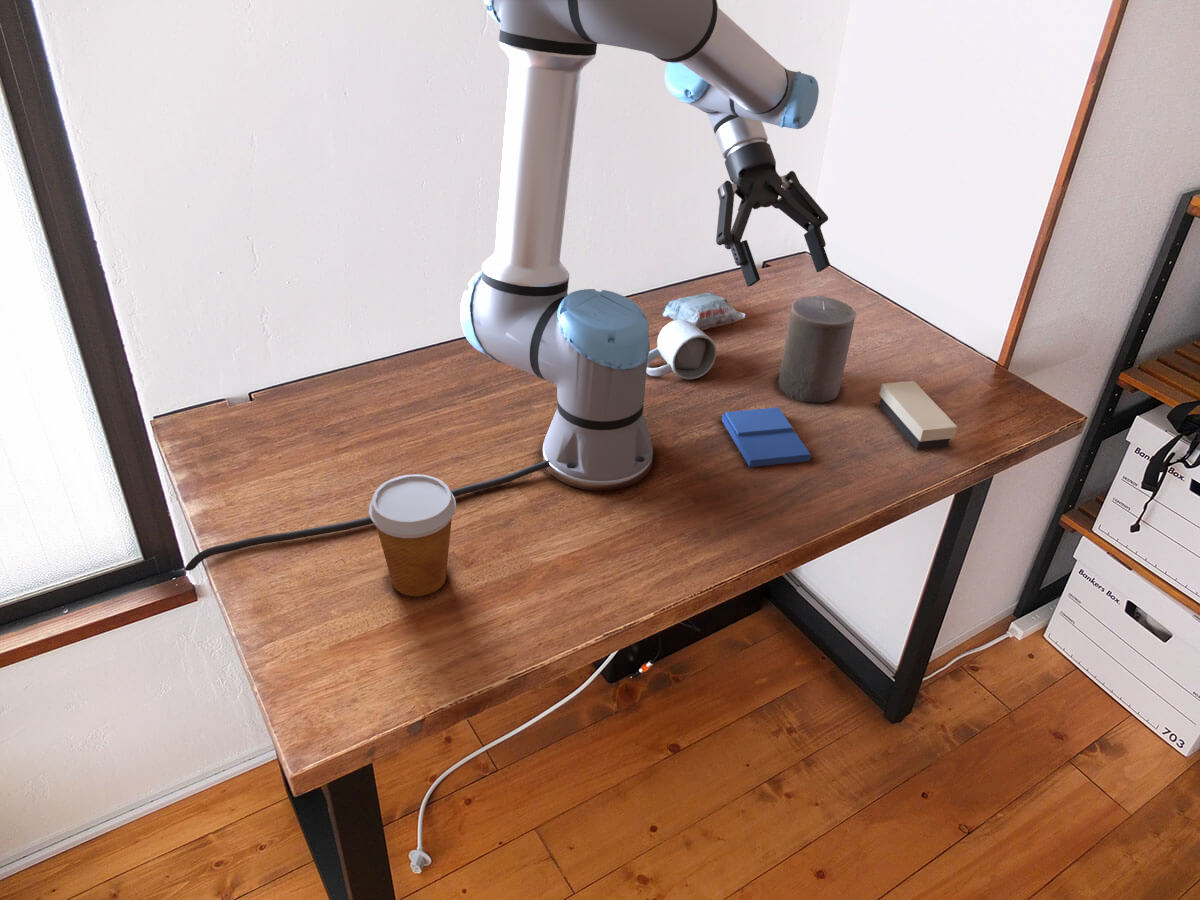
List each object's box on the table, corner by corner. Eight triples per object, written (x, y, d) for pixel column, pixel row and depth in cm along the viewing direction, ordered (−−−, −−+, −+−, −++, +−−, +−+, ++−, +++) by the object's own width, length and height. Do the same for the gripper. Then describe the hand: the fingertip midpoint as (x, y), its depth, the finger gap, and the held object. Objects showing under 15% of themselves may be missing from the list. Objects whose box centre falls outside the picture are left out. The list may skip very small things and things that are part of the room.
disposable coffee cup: (463, 551, 116) (459, 472, 109) (456, 607, 108) (451, 525, 101) (384, 550, 115) (375, 470, 109) (371, 606, 108) (360, 524, 101)
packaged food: (743, 329, 167) (746, 303, 164) (686, 342, 162) (688, 316, 159) (714, 309, 173) (717, 284, 170) (659, 321, 168) (661, 296, 165)
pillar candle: (782, 401, 147) (797, 314, 139) (774, 370, 155) (788, 285, 147) (844, 405, 147) (864, 318, 139) (834, 373, 155) (851, 289, 147)
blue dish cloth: (749, 467, 133) (751, 457, 132) (721, 420, 142) (723, 410, 141) (809, 461, 135) (811, 451, 134) (778, 415, 144) (779, 405, 143)
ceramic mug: (692, 352, 159) (696, 310, 155) (714, 375, 153) (719, 333, 148) (634, 362, 156) (636, 320, 151) (654, 387, 150) (657, 344, 145)
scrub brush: (916, 452, 138) (923, 430, 136) (876, 404, 148) (881, 383, 146) (951, 448, 139) (957, 426, 137) (908, 401, 149) (914, 380, 147)
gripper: (795, 153, 160) (837, 271, 158) (669, 172, 150) (711, 298, 147) (821, 130, 153) (865, 253, 151) (690, 148, 143) (735, 280, 141)
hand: (789, 276), depth 149 cm, fingers open, 13 cm apart
